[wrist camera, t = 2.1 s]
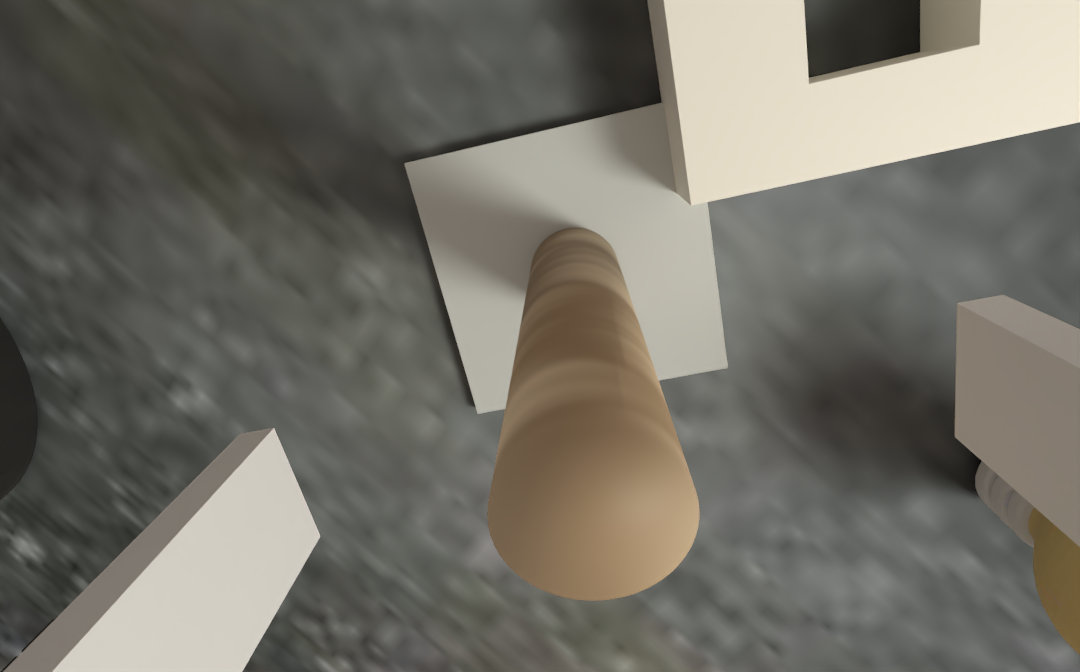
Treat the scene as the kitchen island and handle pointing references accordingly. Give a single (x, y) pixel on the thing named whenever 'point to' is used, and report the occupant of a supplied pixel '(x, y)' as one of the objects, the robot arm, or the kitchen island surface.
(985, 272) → the kitchen island surface
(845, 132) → the hole block
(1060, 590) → the light bulb
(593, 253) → the dowel
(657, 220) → the mat
